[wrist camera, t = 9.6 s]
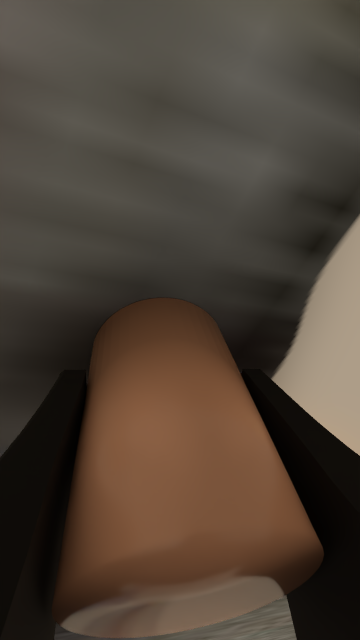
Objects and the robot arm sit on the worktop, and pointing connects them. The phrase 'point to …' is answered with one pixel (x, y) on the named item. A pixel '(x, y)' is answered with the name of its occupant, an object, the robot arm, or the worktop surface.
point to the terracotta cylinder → (174, 486)
